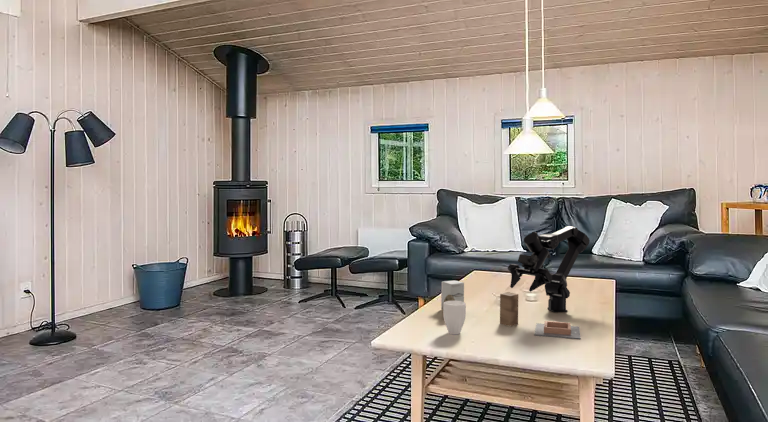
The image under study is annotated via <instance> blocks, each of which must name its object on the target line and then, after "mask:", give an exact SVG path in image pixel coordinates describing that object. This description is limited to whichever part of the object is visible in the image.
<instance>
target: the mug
mask: <svg viewBox="0 0 768 422" xmlns="http://www.w3.org/2000/svg"><path fill="white" fill-rule="evenodd" d="M466 307H467V305H466V302H465V301H464V302H462V301H446V302H444V303H443V311H442V315H443V320H444V325H445V327H446V329H447V332H448V334H450V335H460V334H461V332H462V329H463V326H464V324H465V321H466V316H467V312H466Z"/></svg>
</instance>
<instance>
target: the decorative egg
mask: <svg viewBox="0 0 768 422" xmlns="http://www.w3.org/2000/svg"><path fill="white" fill-rule="evenodd" d="M446 301H455V299H454V297H453V296H452V295H450V294H449V295H447V296H446V298H445V300H444V302H446ZM444 302H443V303H444ZM441 311H442V312H443V307H442V309H441Z"/></svg>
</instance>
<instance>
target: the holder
mask: <svg viewBox="0 0 768 422" xmlns="http://www.w3.org/2000/svg"><path fill="white" fill-rule="evenodd" d="M534 329H535V330H534V333H533V335H534V336H535V337H536V336H537V337H538V336H539V337H549V338H550V337H551V338H559V339H574V340H581V330H580V326H579V325H572V324H571V322H563V321H551V320H550V321H549V320H545V321H544V322H543V323H541V322H540V323H539V322H536V324H535V328H534Z"/></svg>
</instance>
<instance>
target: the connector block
mask: <svg viewBox="0 0 768 422" xmlns="http://www.w3.org/2000/svg"><path fill="white" fill-rule="evenodd" d="M499 296H500V297H499V324H500V325H504V326H506V327H507V326H508V327H513V326H516V325H519V294H518V293H513V292H510V291H508V292H502V293H500V295H499Z"/></svg>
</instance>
